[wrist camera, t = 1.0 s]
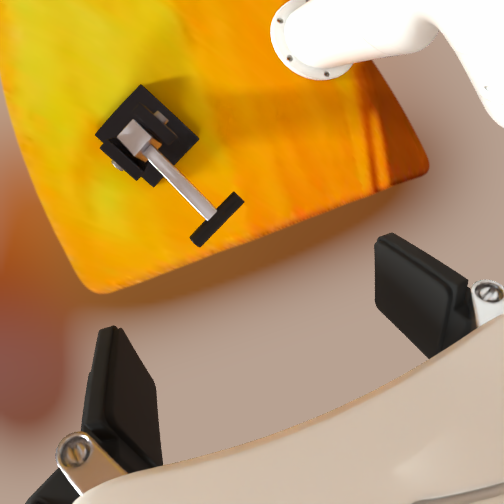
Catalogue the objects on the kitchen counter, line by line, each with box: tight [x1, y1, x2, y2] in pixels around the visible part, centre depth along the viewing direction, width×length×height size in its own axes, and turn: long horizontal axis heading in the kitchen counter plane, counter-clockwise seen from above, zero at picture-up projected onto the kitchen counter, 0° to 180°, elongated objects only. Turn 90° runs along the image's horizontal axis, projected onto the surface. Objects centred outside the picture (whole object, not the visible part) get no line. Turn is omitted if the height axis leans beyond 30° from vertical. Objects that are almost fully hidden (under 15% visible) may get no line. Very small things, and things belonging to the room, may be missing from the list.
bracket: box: [95, 85, 199, 187], centre depth 29 cm, size 10×8×13 cm
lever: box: [117, 119, 244, 247], centre depth 25 cm, size 12×5×2 cm, turn 43°
